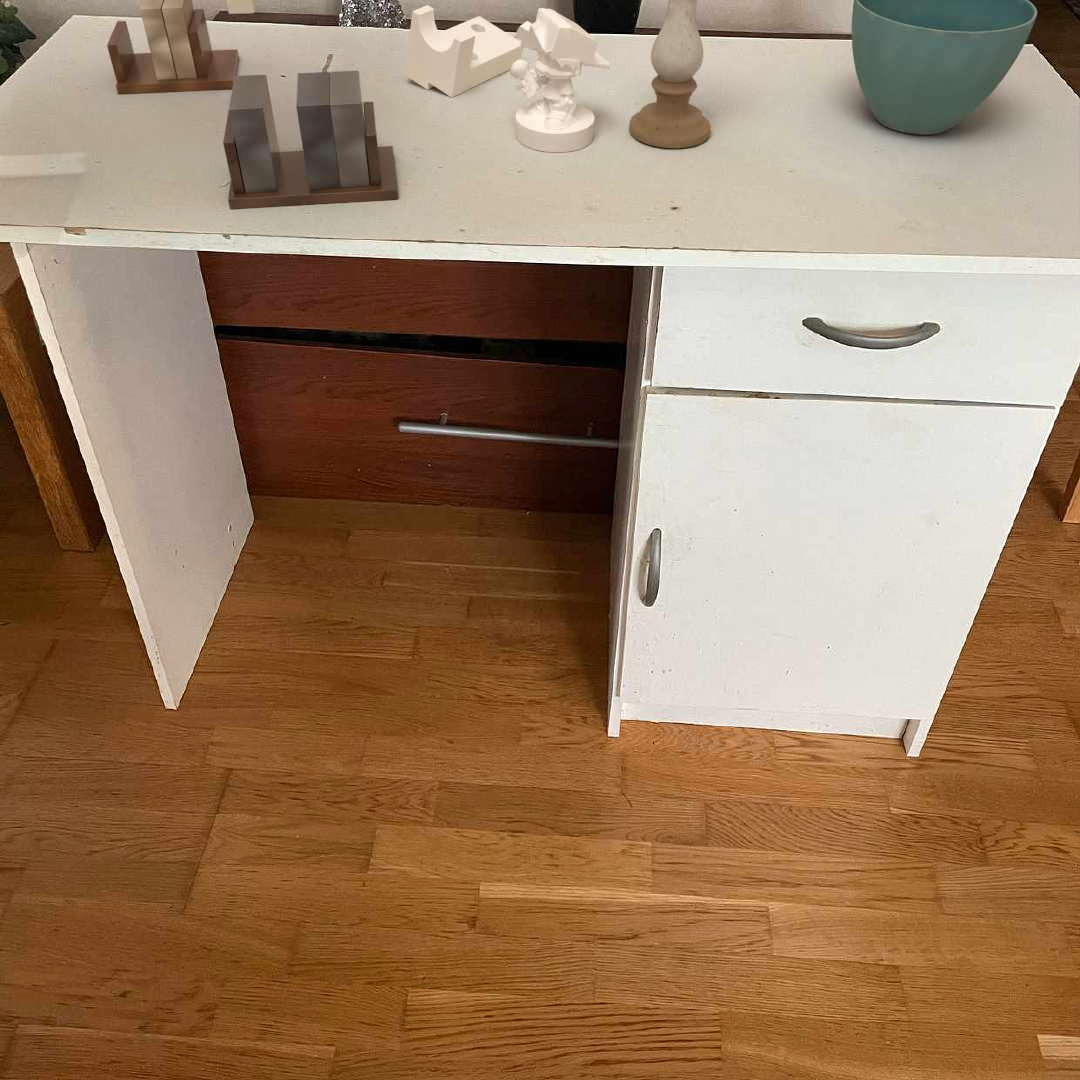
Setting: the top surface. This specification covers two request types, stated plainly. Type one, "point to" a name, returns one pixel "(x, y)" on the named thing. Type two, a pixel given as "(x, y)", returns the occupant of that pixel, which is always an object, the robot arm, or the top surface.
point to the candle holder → (674, 84)
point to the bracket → (457, 53)
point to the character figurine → (554, 84)
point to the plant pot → (934, 57)
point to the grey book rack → (306, 145)
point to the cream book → (241, 6)
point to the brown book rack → (171, 52)
